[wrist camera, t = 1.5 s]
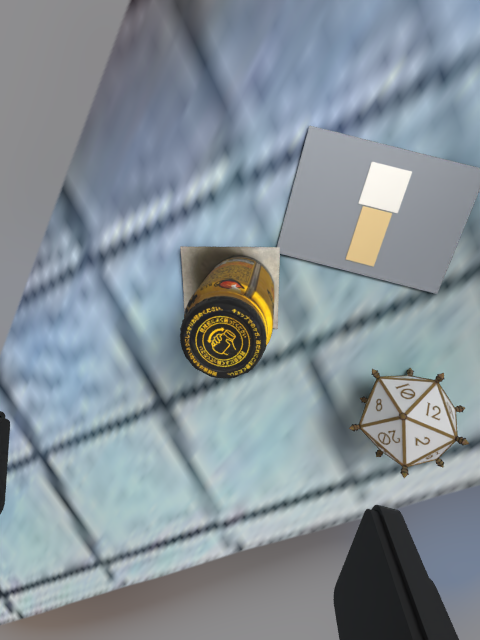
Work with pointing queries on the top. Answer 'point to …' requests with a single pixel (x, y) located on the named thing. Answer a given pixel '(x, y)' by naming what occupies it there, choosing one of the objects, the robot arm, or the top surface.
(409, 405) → the game die
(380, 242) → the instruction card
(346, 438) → the top surface
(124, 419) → the top surface
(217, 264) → the condiment
